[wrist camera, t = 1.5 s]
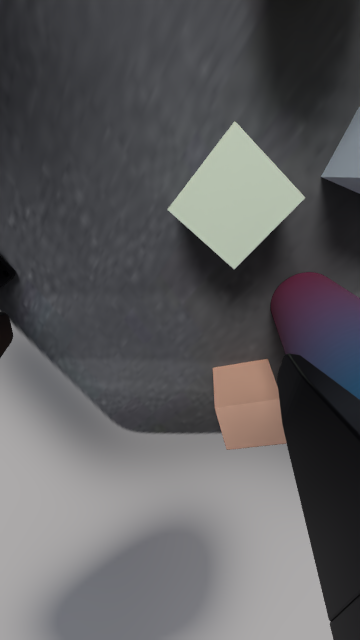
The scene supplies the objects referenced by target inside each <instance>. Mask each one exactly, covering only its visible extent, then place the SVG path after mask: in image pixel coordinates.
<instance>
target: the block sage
mask: <svg viewBox="0 0 360 640" xmlns="http://www.w3.org/2000/svg"><path fill="white" fill-rule="evenodd" d="M304 198H305V197H304V196H303V195H302V194H301V193H300V191H299V190H298V189H297V188H296V187H295V186H294V185H293V184H292V183H291V182H290V181H289V179H288V178H287V177H286V176H285V175H284V174H283V173H282V172H281V171H280V170H279V169H278V168H277V166H276V165H275V164H274V163H273V162H272V161H271V160H270V159H269V158H268V157H267V156H266V154H265V153H264V152H263V151H262V150H261V149H260V148H259V147H258V146H257V145H256V144H255V143H254V141H253V140H252V139H251V138H250V137H249V136H248V135H247V134H246V133H245V132H244V131H243V129H242V128H241V127H240V126H239V125H238V124H237V123H236V122H234V123H233V124H232V126H231V127H230V128H229V129H228V131H227V132H226V133H225V135H224V136H223V137H222V139H221V140H220V141H219V143H218V144H217V145H216V147H215V148H214V149H213V151H212V152H211V153H210V154H209V156H208V157H207V158H206V160H205V161H204V162H203V164H202V165H201V166H200V168H199V169H198V170H197V172H196V173H195V174H194V175H193V177H192V178H191V179H190V181H189V182H188V183H187V185H186V186H185V187H184V189H183V190H182V191H181V193H180V194H179V195H178V197H177V198H176V199H175V200H174V202H173V203H172V204H171V206H170V207H169V208H168V211H170V212H171V213H172V214H173V215H174V216H175V217H176V218H177V219H178V220H180V221H181V222H182V223H183V224H184V225H185V226H186V227H187V228H188V229H190V230H191V231H192V232H193V233H194V234H195V235H196V236H197V237H199V238H200V239H201V240H202V241H203V242H204V243H205V244H206V245H207V246H209V247H210V248H211V249H212V250H213V251H214V252H215V253H216V254H217V255H219V256H220V257H221V258H222V259H223V260H224V261H225V262H226V263H228V264H229V265H230V266H231V267H232V268H233V269H235V268H236V267H237V266H238V265H239V264H240V263H241V262H242V261H243V260H244V259H245V258H246V257H247V256H248V255H249V254H250V253H251V252H252V251H253V250H254V249H255V248H256V247H257V246H258V245H259V244H260V243H261V242H262V241H263V240H264V239H265V238H266V237H267V236H268V235H269V234H270V233H271V232H272V231H273V230H274V229H275V228H276V227H277V226H278V225H279V224H280V223H281V222H282V221H283V220H284V219H285V218H286V217H287V216H288V215H289V214H290V213H291V212H292V211H293V210H294V209H295V208H296V207H297V206H298V205H299V204H300V203H301V201H302V200H303V199H304Z"/></svg>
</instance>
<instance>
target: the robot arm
mask: <svg viewBox="0 0 360 640" xmlns="http://www.w3.org/2000/svg"><path fill="white" fill-rule="evenodd" d="M6 271H7V272H8V273H9V275H8V274H7V273H6ZM14 276H15V272H14V270H13V269H12V268H11V267H10V265H9V264H8V263H7V262H6V261H5V260H4V259H3V258H2V257H1V256H0V288H1V287H3V286H4V285H5V284H6V283H7V282H8V281H10V280H11V279H12V278H13V277H14ZM12 339H13V332H12V328H11V323H10V319H9V316H8V314H6V313H5V312H0V357H1V356H2V355H3V353H4V352H5V350H6V349H7V347H8V346H9V344H10V343H11V341H12ZM277 383H278V392H279V401H280V409H281V418H282V425H283V429H284V434H285V438H286V442H287V446H288V450H289V455H290V459H291V463H292V467H293V471H294V476H295V480H296V484H297V488H298V492H299V496H300V501H301V505H302V509H303V513H304V517H305V522H306V526H307V530H308V534H309V538H310V542H311V547H312V551H313V555H314V559H315V563H316V567H317V572H318V576H319V579H320V584H321V588H322V592H323V597H324V601H325V605H326V609H327V613H328V618H329V620H330V621H331V622H330V627H331V631H332V635H333V639H334V640H360V400H359V399H358V398H357V397H355V396H354V395H353V394H351V393H350V392H349V391H347V390H346V389H345V388H343V387H342V386H341V385H339V384H338V383H337V382H335V381H334V380H333V379H331V378H330V377H329V376H327V375H326V374H325V373H323V372H322V371H321V370H319V369H318V368H317V367H315V366H314V365H313V364H311V363H310V362H309V361H307V360H306V359H305V358H303V357H302V356H301V355H297V354H290V353H287V354H286V355H285V356H284V358H283V361H282V364H281V367H280V369H279V372H278V376H277Z"/></svg>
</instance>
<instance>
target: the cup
mask: <svg viewBox="0 0 360 640" xmlns="http://www.w3.org/2000/svg"><path fill="white" fill-rule="evenodd" d="M271 312H272V316H273V319H274V322H275V324H276V327H277V330H278V333H279V336H280V339H281V342H282V345H283V348H284V351H285V354H287V353H290V354H297V355H301V356H302V357H303V358H305V359H306V360H307V361H309V362H310V363H311V364H313V365H314V366H315V367H317V368H318V369H319V370H321V371H322V372H323V373H325V374H326V375H327V376H329V377H330V378H331V379H333V380H334V381H335V382H337V383H338V384H339V385H341V386H342V387H343V388H345V389H346V390H347V391H349V392H350V393H351V394H353V395H354V396H355V397H357V398H358V399H359V400H360V298H359V297H357V296H355V295H354V294H352V293H351V292H349V291H348V290H346V289H344V288H343V287H341V286H340V285H338V284H337V283H335V282H334V281H332V280H330V279H329V278H327V277H325V276H324V275H322V274H318V273H312V272H306V273H300V274H296V275H294V276H292V277H290V278H288V279H287V280H285V281H284V282H283V283H281V284H280V285H279V286H278V288H277V289H276V291H275V292H274V294H273V296H272V300H271Z"/></svg>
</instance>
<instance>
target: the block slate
mask: <svg viewBox="0 0 360 640" xmlns="http://www.w3.org/2000/svg"><path fill="white" fill-rule="evenodd" d="M321 177H322V178H324V179H327V180H329V181H331V182H334V183H336V184H338V185H341V186H343V187H345V188H348V189H350V190H352V191H355V192H357V193H359V194H360V106H359V108H358V110H357V112H356V114H355V115H354V117H353V119H352V121H351V123H350V125H349V126H348V128H347V130H346V132H345V134H344V136H343V138H342V139H341V141H340V143H339V145H338V147H337V149H336V150H335V152H334V154H333V156H332V158H331V160H330V161H329V163H328V165H327V167H326V169H325V171H324V172H323V174H322V176H321Z"/></svg>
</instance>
